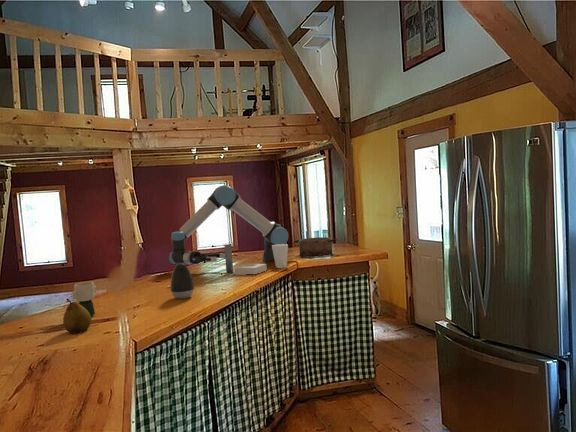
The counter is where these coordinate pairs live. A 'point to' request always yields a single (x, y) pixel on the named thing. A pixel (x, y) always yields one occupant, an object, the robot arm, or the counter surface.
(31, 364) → the counter surface
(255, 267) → the socket block
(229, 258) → the peg
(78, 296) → the white and green lamp
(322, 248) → the cooking pot
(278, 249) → the foam cup
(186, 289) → the black egg shape
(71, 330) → the fruit
